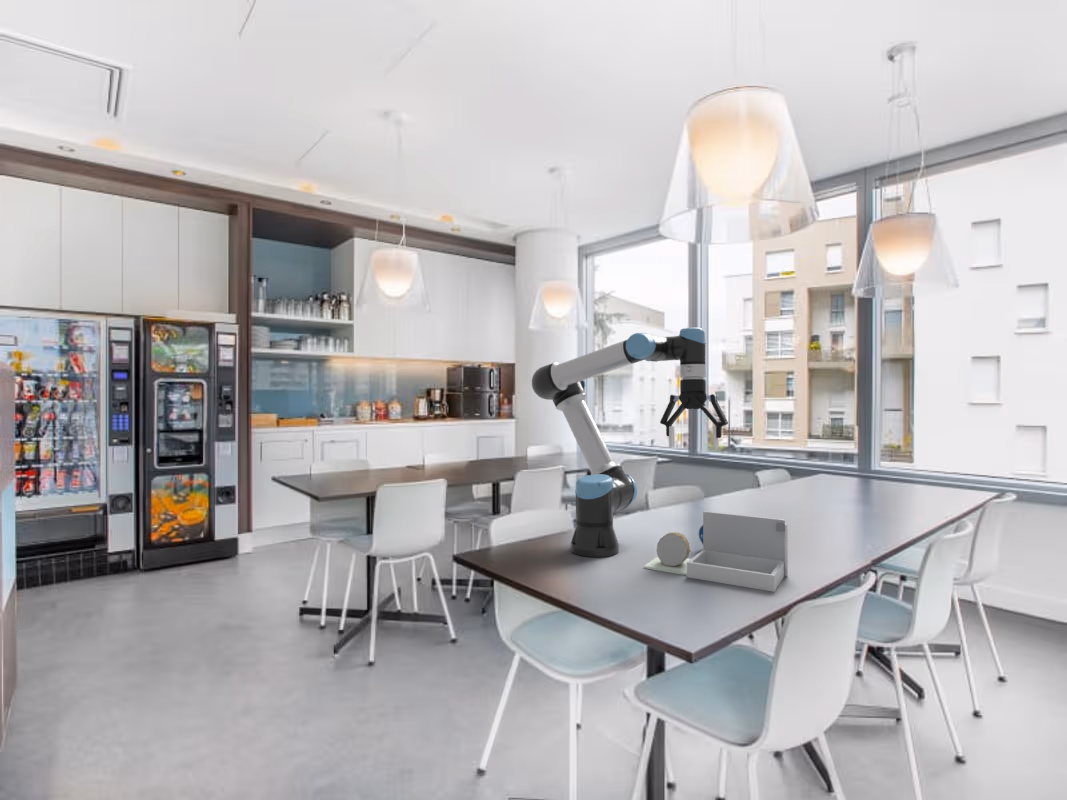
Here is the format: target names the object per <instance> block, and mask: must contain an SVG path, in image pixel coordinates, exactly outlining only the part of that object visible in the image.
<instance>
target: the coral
mask: <svg viewBox="0 0 1067 800" xmlns="http://www.w3.org/2000/svg"><path fill="white" fill-rule="evenodd" d="M656 545H657V546H656V554H657V557H659V559H660V561H661V562H662V563H663V564H665V565H667V566H676V565H679V564H681V563H683V562H684V561H685V560H686V559H687V558H689V555H690V553H691V549H690V548H691V547H690V542H689V541H688V539H687V537H686V536H685V535H684V534H683V533H680V532H676V531H674V532H668V533H666V534H664V535H663V536H662V537H661V538H659V540H658V542H657V544H656Z"/></svg>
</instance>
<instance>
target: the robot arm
mask: <svg viewBox="0 0 1067 800" xmlns="http://www.w3.org/2000/svg"><path fill="white" fill-rule="evenodd" d="M706 344H707V343H706V333H705V330H704V329H703V328H700V327H686V328H682V329H680V330H679V334H678V335H674V336H659V335H655V334H650V333H647V332H635V333H633V334H631V335H630V336H629V337H628V338H627V339H625V340H622V341H620V342H617V343H614V344H611V345H608V346H606V347H602V348H600V349H598V350H593V351H592V352H590V353H586V354H583V355H581V356H577V357H575V358H573V359H570V360H568V361H564V362H561V363H560V362H559V361H556V362H552V363H550V364H546V365H544V366H541V367H539V368H538V369H536V370H535V372H534V373H533V375H532V378H531V387H532V390H533V392H534V393H535V394H536V395H537V396H538V397H539V398H541V399H542V400H548V401H549V400H550V401H551V400H552V402H553V404H554V406H555V409H556V410H558V411H561V412H562V414H563V415H564V417H565V419H566V422H567V424H568V426H569V428H570V431H571V432H572V434H573V436H574V438H575V440H576V443H577V445H578V448H579V449H580V453H581V454H582V456H583V458H584V460H585V462H586V465H587V466H588V468H589V470H590V475H589V474H587V475H584V476H581V477H579V478H578V479H577V480H576V483H575V490H574V491H575V492H574V493H575V528H574V532H573V534H572V538H571V541H570V551H571V553H573V554H575V555H578V556H581V557H587V558H588V557H589V558H602V557H603V558H605V557H611V556H614V555H616V554H618V553H619V551H620V550H619V549H620V547H619V546H620V545H619V542H618V537H617V535H616V532H615V529H614V512H617V511H623V510H625V509H627V508H628V507H629V506H631V505H632V504H633V503H634V501H636V498H637V494H638V486H637V483H636V481H635V480H634V478H633V476H631V475H629V474H627V473H625V471H624V468H623V467H622V465H621V464H620V463H616V462H615V460H614V459H613V456H612V455H611V453H610V451H609V449H608V447H607V444H606V442H605V440H604V438H603V436H602V434H601V432H600V430H599V427H598V426H597V424H596V421H595V420H594V417H593V416H592V414H591V411H590V409H589V407H588V405H587V402H586V397H587V393H586V391H585V390H586V389H585V388H586V380H588V379H591V378H594V377H597V376H599V375H600V376H601V375H603V374H606V373H608V372H611V371H615V370H617V369H621V368H623V367H626V366H630V365H632V364H636V363H638V362H642V361H646V362H656V363H657V362H665V361H666V362H667V361H679V362H680V363H679V373H680V374H679V376H680V378H681V380H680V381H679V386H680V387H679V391H680V394H679V395H676V394H670V396H669V402H668V404H667V405H666V408H665V409H664V410H665V411H664V413H663V414H662V418H661V419H660V422H659V423H660V425H664V426H665V431H666V434H665V435H666V437H668V441H669V442H668V444H669V445H668V447H669V448H675V447H676V446H675V426H674V425H673V424H674V423H675V421H676V420H677V419H678V418H679V417H680V416H681V414H682V413H683V412H684V411H685V410H699V409H700V410H701V411H702V412H703V413H704V414H705V416H706V417H708V419H709V420H710V421H711V422H712V423H713V425H714V427H712V433H713V434H712V437H713V438H712V441H713V442H712V443H713V444H712V448H713V449H712V450H718V449H719V439H720V438H722V435H723V434H722V430H723V429H722V427H724V426H727V425H728V424H729V421H728V420H727V418H726V416H725V413H724V412H723V410H722V408H721V406H720V404H719V402H718V396H717V394H713V393H711V394H708V395H707V393H706V392H707V389H706V388H707V386H706V385H707V382H706V379H704V378H706V376H707V375H706ZM707 400H708V401H709V402H710V403H711V405H712V407H713V409H714V411H715V413H716V415H717V417H718V418H717V417H716V415H715V414H714V413H713V412H712V411H711V410H710V409H709V407H708V406H707V405H706V402H707ZM678 401H680V405H679V406H678V408H677V409H676V410H675V412H674V413H673V414H672V412H673V409H674V408H675V406H676V404H677V402H678ZM671 414H672V415H671ZM670 415H671V416H670Z"/></svg>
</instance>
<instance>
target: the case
mask: <svg viewBox="0 0 1067 800" xmlns="http://www.w3.org/2000/svg"><path fill="white" fill-rule="evenodd" d="M702 525H703V544H702V547H703V548H702V550H701V551H700V552H698V553H697V554H696V555H694V556H692V558H690V559H691V560H689V561H688V562H687V575H686V577H687V578H690V579H695V580H696V579H697V580H702V581H708V582H712V583H713V582H714V583H718V584H725V585H731V586H737V587H743V588H748V589H749V588H750V589H755V590H760V591H766V592H767V591H768V592H773V593H775V592H776V590H777V589H778V587H779V585H780V584H781V582H782V580H784V577H785V578H787V577H789V571H788V570H789V562H788V561H789V558H788V557H789V554H788V553H789V552H788V551H789V550H788V547H789V546H788V545H789V543H788V541H789V539H788V538H789V537H788V533H789V532H788V530H789V528H788V523H786V519H783V518H775V517H774V518H772V517H763V516H755V515H754V516H753V515H752V516H751V515H743V514H733V513H725V512H723V513H722V512H715V511H714V512H713V511H705V510H704V511H703V512H702ZM705 563H706V564H705Z"/></svg>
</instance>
